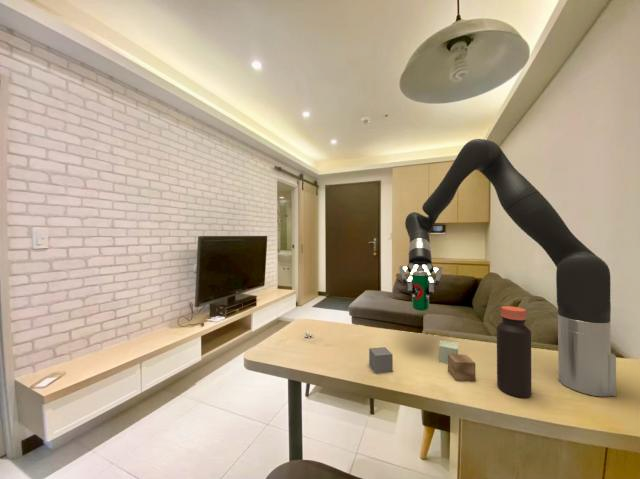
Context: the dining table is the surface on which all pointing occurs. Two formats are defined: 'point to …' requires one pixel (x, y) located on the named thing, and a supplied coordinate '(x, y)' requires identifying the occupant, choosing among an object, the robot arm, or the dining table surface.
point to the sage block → (447, 350)
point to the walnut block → (461, 367)
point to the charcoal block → (381, 360)
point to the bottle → (514, 353)
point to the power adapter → (308, 334)
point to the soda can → (420, 290)
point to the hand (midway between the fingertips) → (420, 293)
